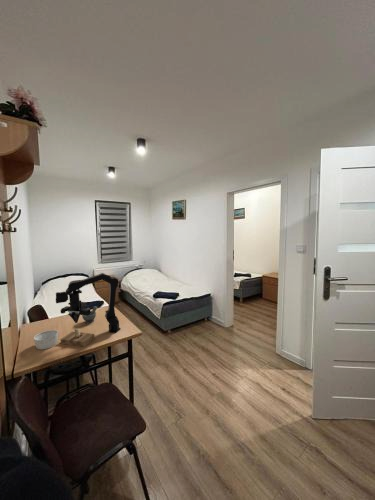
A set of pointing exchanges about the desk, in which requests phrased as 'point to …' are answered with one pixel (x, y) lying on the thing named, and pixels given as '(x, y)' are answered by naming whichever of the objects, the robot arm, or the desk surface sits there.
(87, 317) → the mortar and pestle
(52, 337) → the ramekin
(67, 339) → the board
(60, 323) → the desk surface
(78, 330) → the peg
